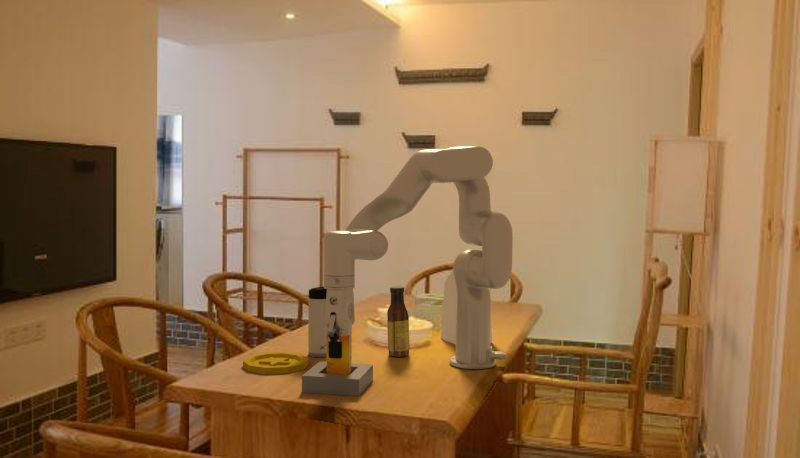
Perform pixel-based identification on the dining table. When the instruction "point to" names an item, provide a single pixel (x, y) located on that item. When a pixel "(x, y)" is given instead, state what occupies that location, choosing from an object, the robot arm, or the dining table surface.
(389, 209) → the robot arm
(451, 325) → the milk
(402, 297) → the sauce bottle
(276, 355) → the decorative disc
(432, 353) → the dining table surface
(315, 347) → the travel mug
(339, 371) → the beer can
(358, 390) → the socket dock
